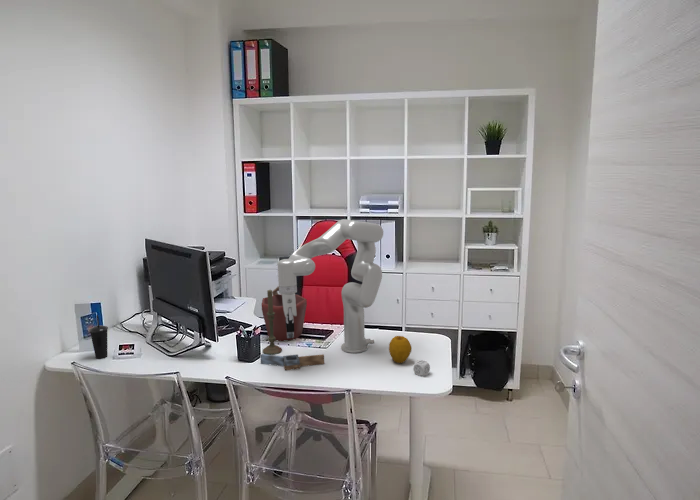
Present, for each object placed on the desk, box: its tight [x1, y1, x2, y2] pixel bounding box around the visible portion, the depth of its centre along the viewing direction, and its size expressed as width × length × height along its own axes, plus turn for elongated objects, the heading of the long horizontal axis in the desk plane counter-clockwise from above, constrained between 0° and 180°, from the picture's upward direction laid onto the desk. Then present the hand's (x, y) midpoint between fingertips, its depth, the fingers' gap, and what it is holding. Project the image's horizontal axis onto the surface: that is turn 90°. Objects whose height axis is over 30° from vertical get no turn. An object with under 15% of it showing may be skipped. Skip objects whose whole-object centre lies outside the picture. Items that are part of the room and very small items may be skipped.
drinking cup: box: [88, 314, 109, 360], centre depth 230 cm, size 8×8×20 cm
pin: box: [286, 315, 294, 338], centre depth 215 cm, size 3×3×10 cm
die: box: [413, 359, 431, 377], centre depth 209 cm, size 5×5×5 cm
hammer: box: [259, 353, 325, 371], centre depth 221 cm, size 27×11×4 cm, turn 102°
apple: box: [388, 335, 412, 364], centre depth 221 cm, size 10×10×12 cm
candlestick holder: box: [262, 289, 283, 355], centre depth 234 cm, size 9×9×30 cm
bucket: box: [261, 285, 308, 342], centre depth 255 cm, size 24×22×25 cm
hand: (290, 330), depth 215 cm, fingers closed on pin, 3 cm apart
